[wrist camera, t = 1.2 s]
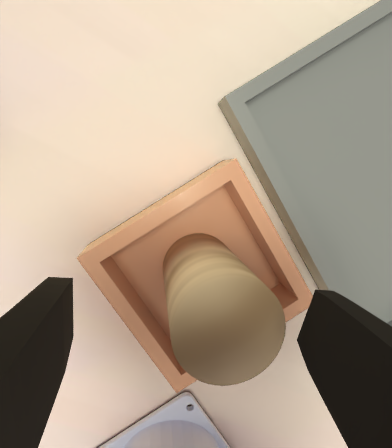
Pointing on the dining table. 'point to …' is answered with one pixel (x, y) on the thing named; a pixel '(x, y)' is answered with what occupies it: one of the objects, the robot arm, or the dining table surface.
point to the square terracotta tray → (168, 234)
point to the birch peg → (219, 312)
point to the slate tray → (329, 153)
